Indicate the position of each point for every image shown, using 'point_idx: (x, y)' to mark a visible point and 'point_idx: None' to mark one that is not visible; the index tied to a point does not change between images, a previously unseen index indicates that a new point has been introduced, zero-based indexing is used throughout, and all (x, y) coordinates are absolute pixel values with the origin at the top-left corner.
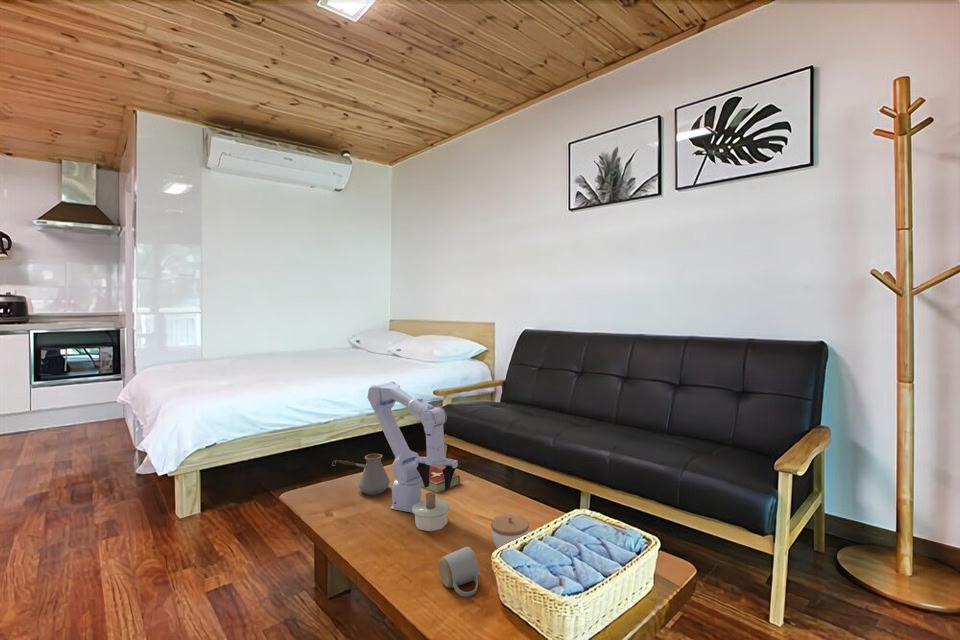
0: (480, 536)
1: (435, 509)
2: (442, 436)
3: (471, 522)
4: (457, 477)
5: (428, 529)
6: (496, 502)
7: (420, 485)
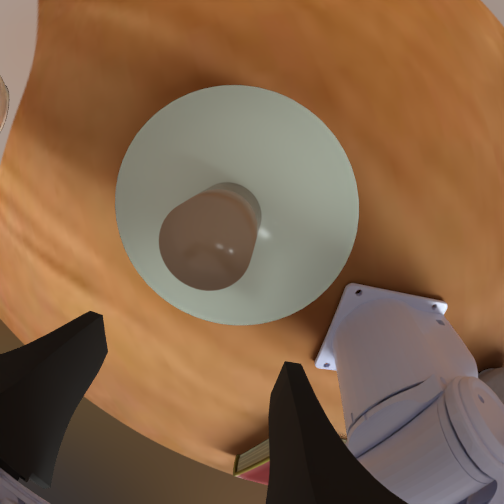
0: (45, 144)
1: (183, 183)
2: None
3: (90, 235)
4: (239, 469)
5: None
6: None
7: (346, 412)
